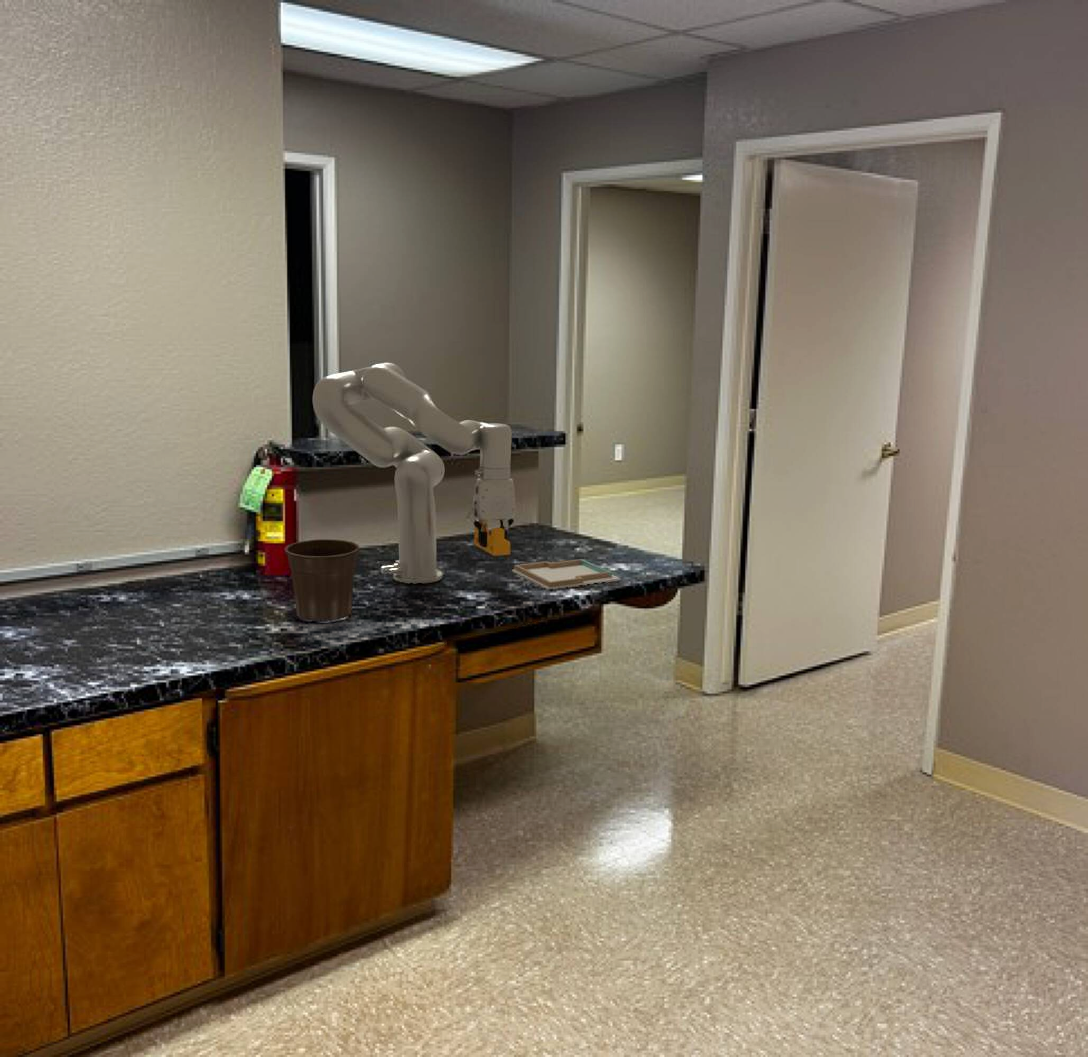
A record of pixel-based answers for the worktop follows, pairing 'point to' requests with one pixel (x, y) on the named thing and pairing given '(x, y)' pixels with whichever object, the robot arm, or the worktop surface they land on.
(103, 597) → the worktop surface
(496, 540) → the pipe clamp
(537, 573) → the shallow rimmed tray
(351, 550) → the plant pot
